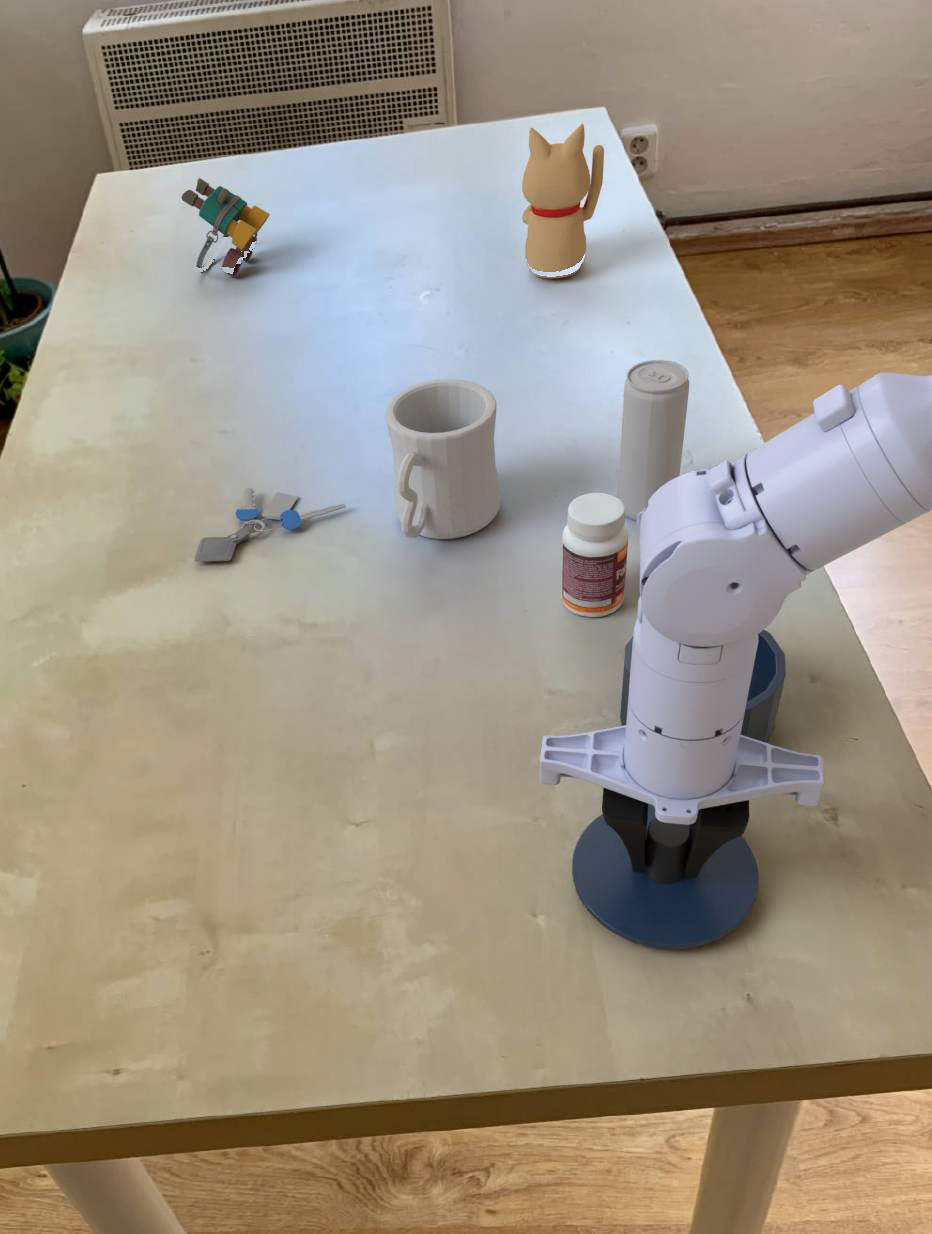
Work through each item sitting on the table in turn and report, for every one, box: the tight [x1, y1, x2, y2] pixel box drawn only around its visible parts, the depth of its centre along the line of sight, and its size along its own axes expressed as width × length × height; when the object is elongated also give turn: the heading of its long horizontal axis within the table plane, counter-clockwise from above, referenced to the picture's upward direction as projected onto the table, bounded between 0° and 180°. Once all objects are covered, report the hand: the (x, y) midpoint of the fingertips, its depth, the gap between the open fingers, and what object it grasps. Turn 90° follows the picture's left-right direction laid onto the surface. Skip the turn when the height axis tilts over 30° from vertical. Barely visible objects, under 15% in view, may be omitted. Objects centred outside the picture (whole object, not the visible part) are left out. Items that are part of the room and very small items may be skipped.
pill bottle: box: [560, 492, 629, 618], centre depth 81 cm, size 5×5×8 cm
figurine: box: [521, 123, 605, 279], centre depth 117 cm, size 9×10×15 cm
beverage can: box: [617, 359, 690, 522], centre depth 87 cm, size 5×5×12 cm
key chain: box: [194, 487, 347, 563], centre depth 96 cm, size 14×8×1 cm, turn 121°
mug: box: [384, 378, 502, 540], centre depth 89 cm, size 12×9×10 cm
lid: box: [571, 804, 760, 950], centre depth 64 cm, size 11×11×5 cm
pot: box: [619, 629, 787, 743], centre depth 73 cm, size 10×10×5 cm
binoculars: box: [181, 177, 271, 279], centre depth 130 cm, size 9×9×10 cm
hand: (664, 861), depth 65 cm, fingers closed on lid, 2 cm apart
